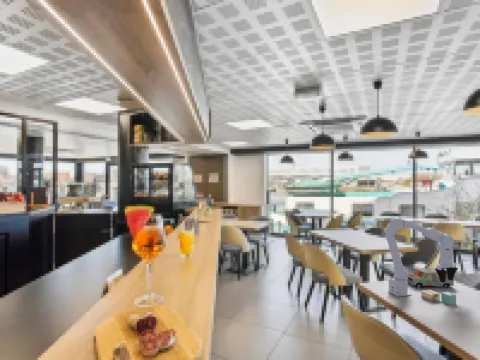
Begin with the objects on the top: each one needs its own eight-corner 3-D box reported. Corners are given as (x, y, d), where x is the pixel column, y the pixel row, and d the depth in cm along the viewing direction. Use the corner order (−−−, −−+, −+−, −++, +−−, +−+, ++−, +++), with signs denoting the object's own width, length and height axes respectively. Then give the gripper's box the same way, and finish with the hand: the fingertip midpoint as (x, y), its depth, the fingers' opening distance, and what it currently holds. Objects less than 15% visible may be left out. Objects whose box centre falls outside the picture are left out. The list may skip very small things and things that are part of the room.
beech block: (430, 302, 154) (430, 294, 154) (421, 297, 160) (421, 290, 160) (439, 301, 156) (439, 293, 156) (429, 296, 162) (429, 289, 162)
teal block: (449, 305, 150) (449, 295, 150) (441, 301, 154) (441, 292, 154) (456, 304, 151) (456, 294, 151) (448, 300, 155) (448, 291, 156)
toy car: (404, 282, 185) (404, 267, 185) (443, 282, 184) (443, 267, 184) (414, 288, 174) (414, 272, 174) (455, 288, 174) (455, 272, 174)
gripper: (446, 259, 150) (446, 285, 150) (461, 256, 156) (462, 281, 156) (432, 256, 156) (432, 281, 156) (447, 253, 163) (448, 277, 163)
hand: (446, 281), depth 157 cm, fingers open, 7 cm apart
